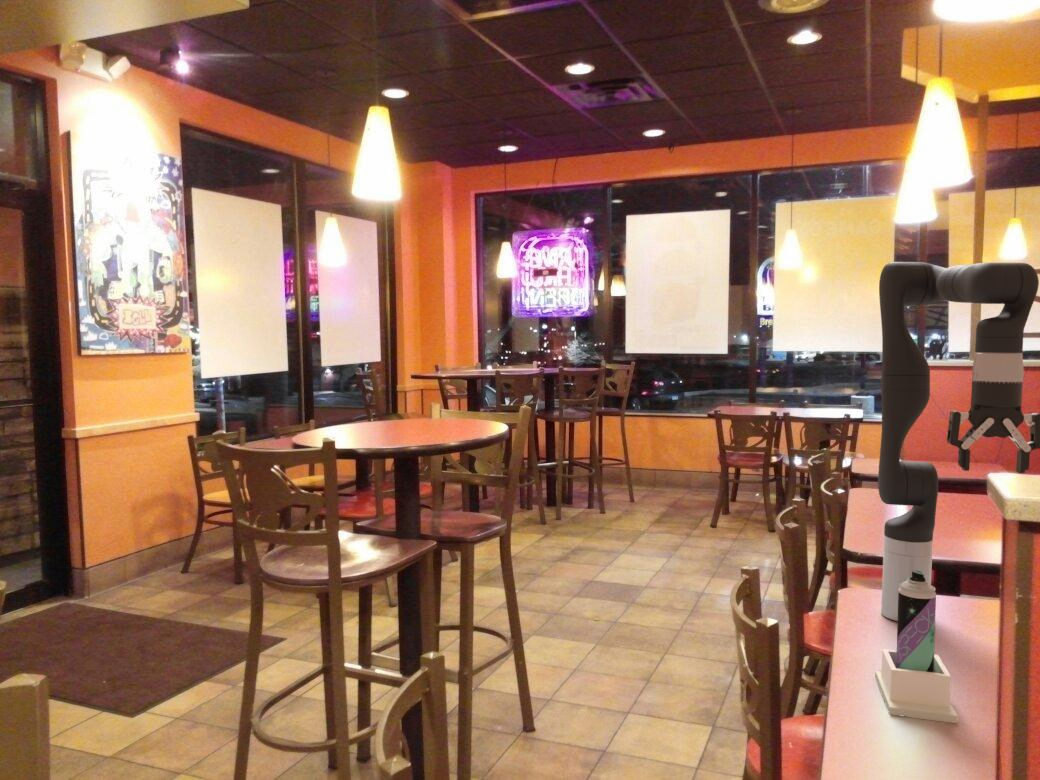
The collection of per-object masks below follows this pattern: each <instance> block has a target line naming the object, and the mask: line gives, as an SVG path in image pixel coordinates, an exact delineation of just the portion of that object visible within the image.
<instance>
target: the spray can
mask: <svg viewBox="0 0 1040 780" xmlns="http://www.w3.org/2000/svg"><path fill="white" fill-rule="evenodd" d="M899 586H900V588H899V591H898V621H897V624H896V625H897V626H896V627H897V632H896V651H897V658H896V668H898V669H906V670H915V671H924V672H934V655H935V642H936V641H935V640H936V638H935V636H936V634H935V633H936V605H937V604H936V603H937V593H936V587H935V586H933V585H932V584H931V585H930V584H929V583H927V580H926V579H925V578H924V574H923V573H922V572H920V571H912V576H911V577H910V578H908V580H907V581H905V582H902V583H900V584H899Z"/></svg>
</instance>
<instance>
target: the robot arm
mask: <svg viewBox="0 0 1040 780" xmlns="http://www.w3.org/2000/svg"><path fill="white" fill-rule="evenodd" d="M879 275H880V277H879V281H878V282H879V283H878V285H879V287H878V289H879V290H878V293H879V297H878V298H879V309H880V320H881V321H880V322H881V337H882V338H881V339H882V341H881V343H882V346H881V347H882V348H881V350H882V351H881V353H882V357H881V375H880V376H881V377H880V380H881V384H880V385H881V387H880V388H881V390H880V391H881V435H880V436H881V437H880V438H881V439H880V450H879V451H880V452H879V462H878V474H877V478H878V479H877V488H878V489H877V490H878V494H879V498H880V499H881V500H880V501H882V503H884V504H886V505H891V506H894V505H895V506H912V507H911V508H910V510H909V511H907V512H906V513H903V514H901V515H899V516H897V517H896V516H895V517H893V518H890V519H888V520H887V521H885V523H884V527H883V529H884V530H883V532H884V533H883V554H882V555H883V557H882V581H881V583H882V584H881V602H880V603H881V607H880V613H881V615H882V616H883V617H885V618H887V619H889V620H893V621H895V622H898V591H899V588H900V586H899V584H900V583H902V582H905V581H907V580H908V578H910V577H911V576H912V571H920V572H922V573H923V574H924V578H925V579H926V580H927V583H929V584H930V585H931V586H932V567H933V566H932V565H933V546H934V545H933V543H934V541H933V540H934V532H935V531H934V530H935V526H936V514H937V513H936V512H937V511H936V510H937V503H938V494H939V477H938V476H939V474H938V471H937V468H936V467H935V465H934V464H933V463H931V462H928V461H914V460H913V461H912V460H911V461H907V460H901V459H900V458H901V454H902V453H901V452H902V447H903V444H904V442H905V439H906V437H907V435H908V434H909V431H910V429H912V427H913V426H914V425H915V423H916V422H917V420H918V418H919V417H920V416H921V415H922V414H923V412H924V411H925V409H926V407H927V405H928V403H929V400H930V396H931V369H930V366H929V362H928V360H927V359H926V357H925V355H924V353H923V352H922V350H921V348H920V347H919V345H918V344H917V343H916V341H915V340H914V339H913V336H912V335H911V333H910V331H909V329H908V326H907V323H906V322H907V321H906V316H905V308H904V307H922V306H923V307H924V306H928V305H932V304H934V303H939V302H941V301H942V302H944V301H949V302H953V303H962V304H963V303H965V304H971V303H972V304H984V305H986V304H987V305H991V304H992V305H997V304H998V305H1003V307H1002V310H1001V311H1000V313H999V314H998V315H997V316H996V315H995V316H993V317H989V318H984V319H981V320H980V321H978V322H977V325H976V329H975V330H976V331H975V346H974V347H975V348H974V349H975V351H974V359H973V363H972V371H971V373H972V377H971V394H970V395H971V396H970V397H971V398H970V409H969V410H968V412H966V411H964V412H963V411H958V410H951V411H950V412H949V419H948V426H947V427H948V428H947V436H946V442H947V443H948V444H949V445H951V446H954V447H956V448H958V455H957V459H958V460H957V464H958V467H960V468H961V470H963V472H969V471H970V466H971V465H970V462H971V450H970V449H969V448H970V447H971V446H972V445H973V443H975V442H976V441H978V440H979V439H980V438H981V436H982V437H985V438H994V437H997V438H1002V439H1006V438H1009V439H1010V440H1011V441H1012V442H1013V443H1014V444H1015V446H1016V447H1017V448H1018V450H1016V466H1015V467H1016V468H1015V472H1016V473H1018V474H1025V473H1026V471H1028V470H1029V469H1030V457H1031V456H1030V454H1031V452H1032V451H1034V450H1037V449H1039V450H1040V413H1038V412H1032V413H1026V414H1025V413H1023V412H1022V405H1023V403H1022V402H1023V400H1022V399H1023V387H1024V386H1023V383H1024V378H1025V374H1024V373H1025V372H1024V359H1023V355H1024V354H1023V350H1024V348H1023V347H1024V332H1025V327H1026V324H1027V321H1028V318H1029V315H1030V313H1031V309H1032V307H1033V303H1034V302H1035V299H1036V296H1037V293H1038V290H1039V284H1040V282H1039V275H1038V272H1037V271H1036V270H1035V268H1034V267H1033V266H1032V265H1031V264H1029V263H1027V262H1026V263H1025V262H980V263H979V262H977V263H972V264H970V263H969V264H958V265H952V266H949V267H943V266H940V265H936V264H932V263H928V262H924V261H923V262H920V261H917V262H916V261H893V262H892V261H891V262H888V263H886V264H885V265H884V266H883V268H882V270H881V271H880V274H879ZM966 419H967V420H968V421H969V422H970V424H971V427H970V428H969V429H968V430H967V432H965V435H964V436H963V437H962V438H960V439H959V434H960V427H961V426H960V425H962V424H964V423H965V420H966ZM1024 421H1025V424H1026V426H1029V439H1030V440H1029V441H1026V439H1025V437H1024V435H1022V433H1021V432H1020V431H1019V430H1018V428H1019V426H1020V425H1021V424H1022V423H1023V422H1024Z"/></svg>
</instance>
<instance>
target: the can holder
mask: <svg viewBox="0 0 1040 780" xmlns="http://www.w3.org/2000/svg"><path fill="white" fill-rule="evenodd" d="M896 658H897V649H896V650H894V649H885V648H882V651H881V670H875V674H874V678H875V677H876V678H875V681H876V680H877V681H876V683H877V682H878V683H877V686H878V685H879V686H878V688H879V687H880V689H879V690H881V691H880V693H882V694H881V696H882V695H883V696H882V699H883V698H884V699H883V702H884V701H885V702H884V704H885V703H886V704H885V707H886V706H887V707H886V709H888V710H887V712H888V711H889V712H888V714H895V715H894V716H897V715H903V716H902V717H904V716H907V717H906V718H913V719H921V720H928V721H937V722H944V723H952V724H958V713H957V712H956V711H955V708H954V707H953V705H952V703H951V688H952V687H951V685H952V676H951V673H950V672H949V671H948V669H947V667H946V666H945V664H944V662H943V661H942V659H941V657H940V656H939V655H938V654H934V672H924V671H915V670H906V669H898V668H896Z"/></svg>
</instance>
